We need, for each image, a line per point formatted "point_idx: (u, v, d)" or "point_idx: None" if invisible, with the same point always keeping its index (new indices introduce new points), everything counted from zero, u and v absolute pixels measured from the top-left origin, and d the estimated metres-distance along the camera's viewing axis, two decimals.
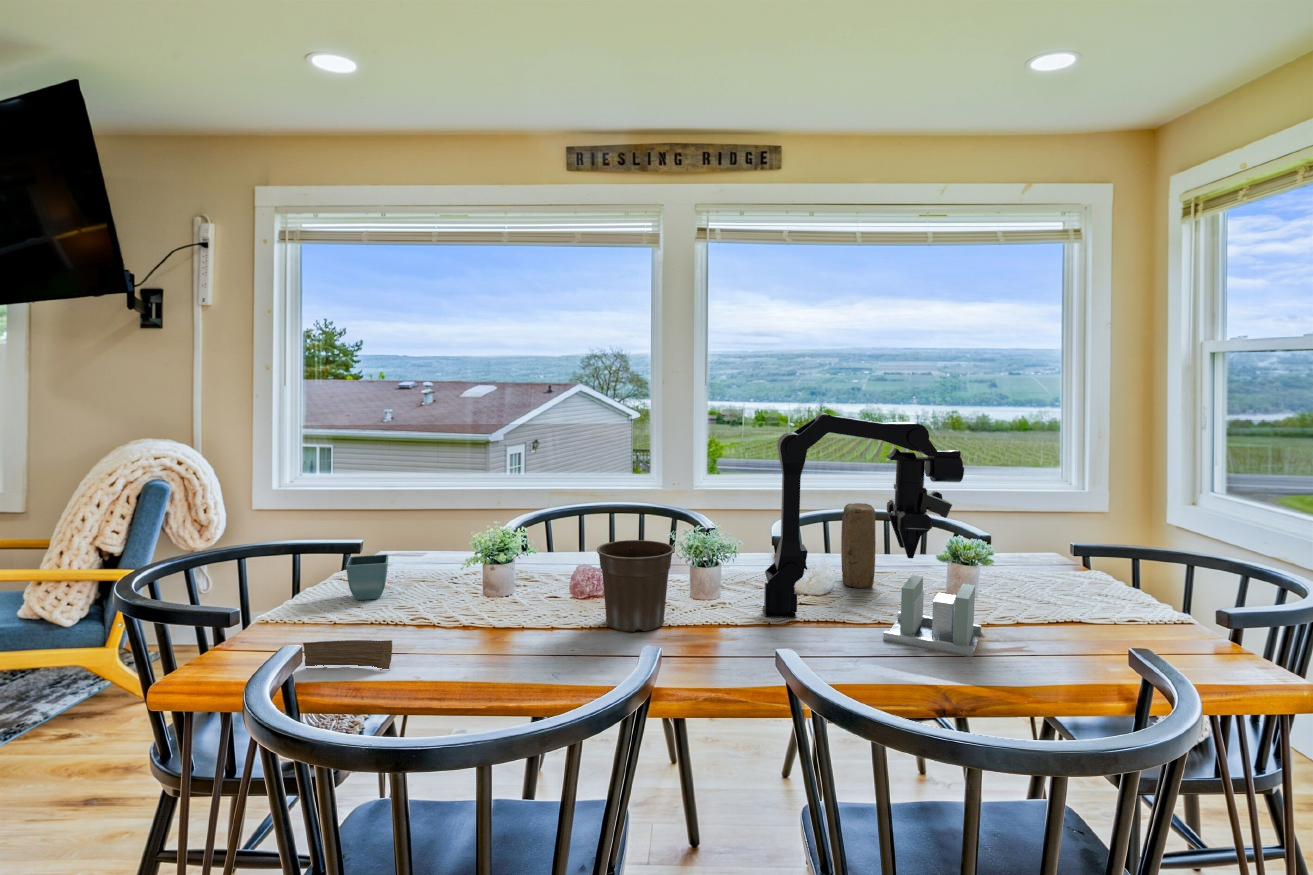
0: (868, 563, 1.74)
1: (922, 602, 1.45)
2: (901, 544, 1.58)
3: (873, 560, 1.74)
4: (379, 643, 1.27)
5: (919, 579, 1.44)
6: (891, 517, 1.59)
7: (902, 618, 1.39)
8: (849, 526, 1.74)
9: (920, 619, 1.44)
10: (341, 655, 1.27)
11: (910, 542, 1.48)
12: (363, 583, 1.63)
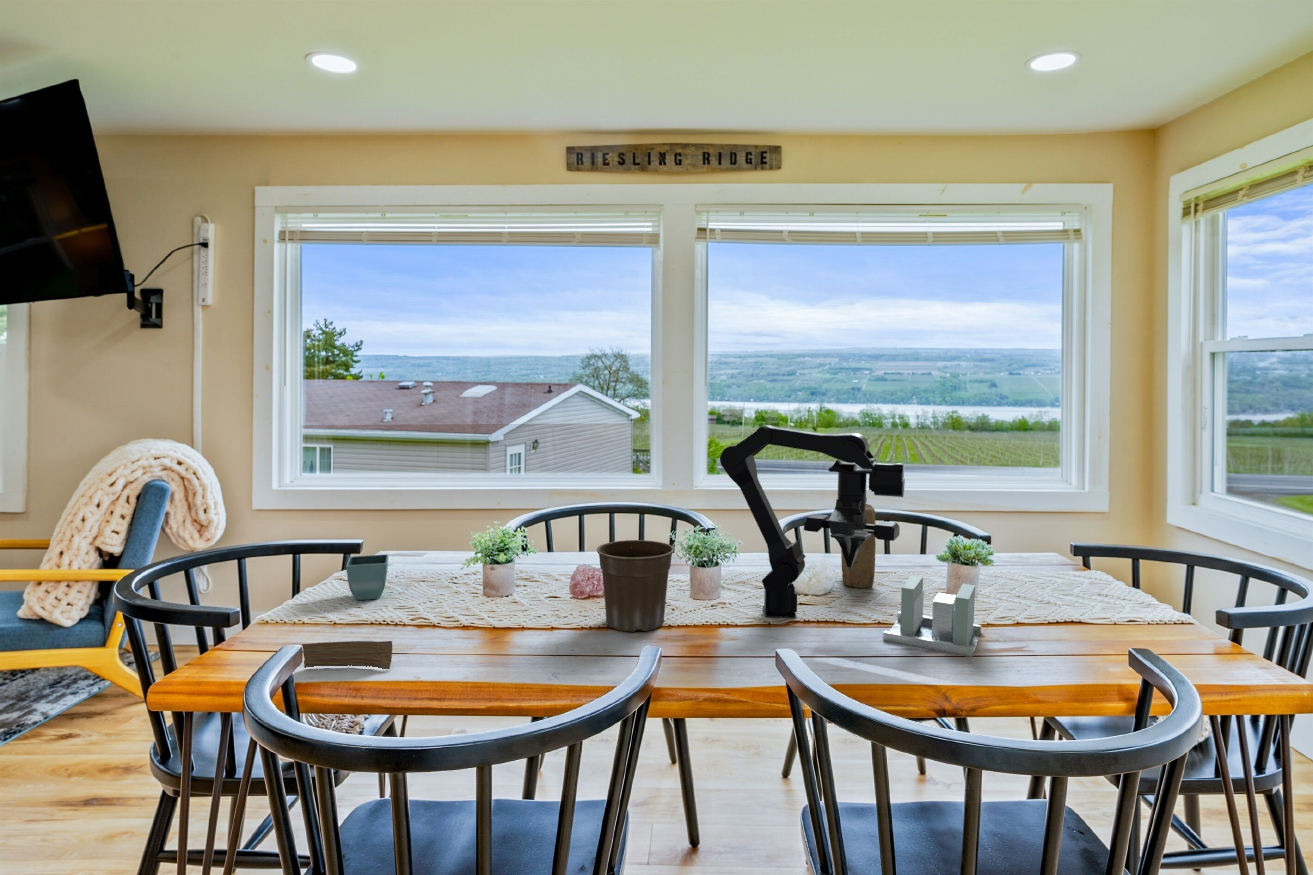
0: (868, 563, 1.74)
1: (922, 602, 1.45)
2: None
3: (873, 560, 1.74)
4: (379, 644, 1.27)
5: (919, 579, 1.44)
6: None
7: (902, 618, 1.39)
8: None
9: (920, 619, 1.44)
10: (340, 656, 1.27)
11: None
12: (363, 583, 1.63)
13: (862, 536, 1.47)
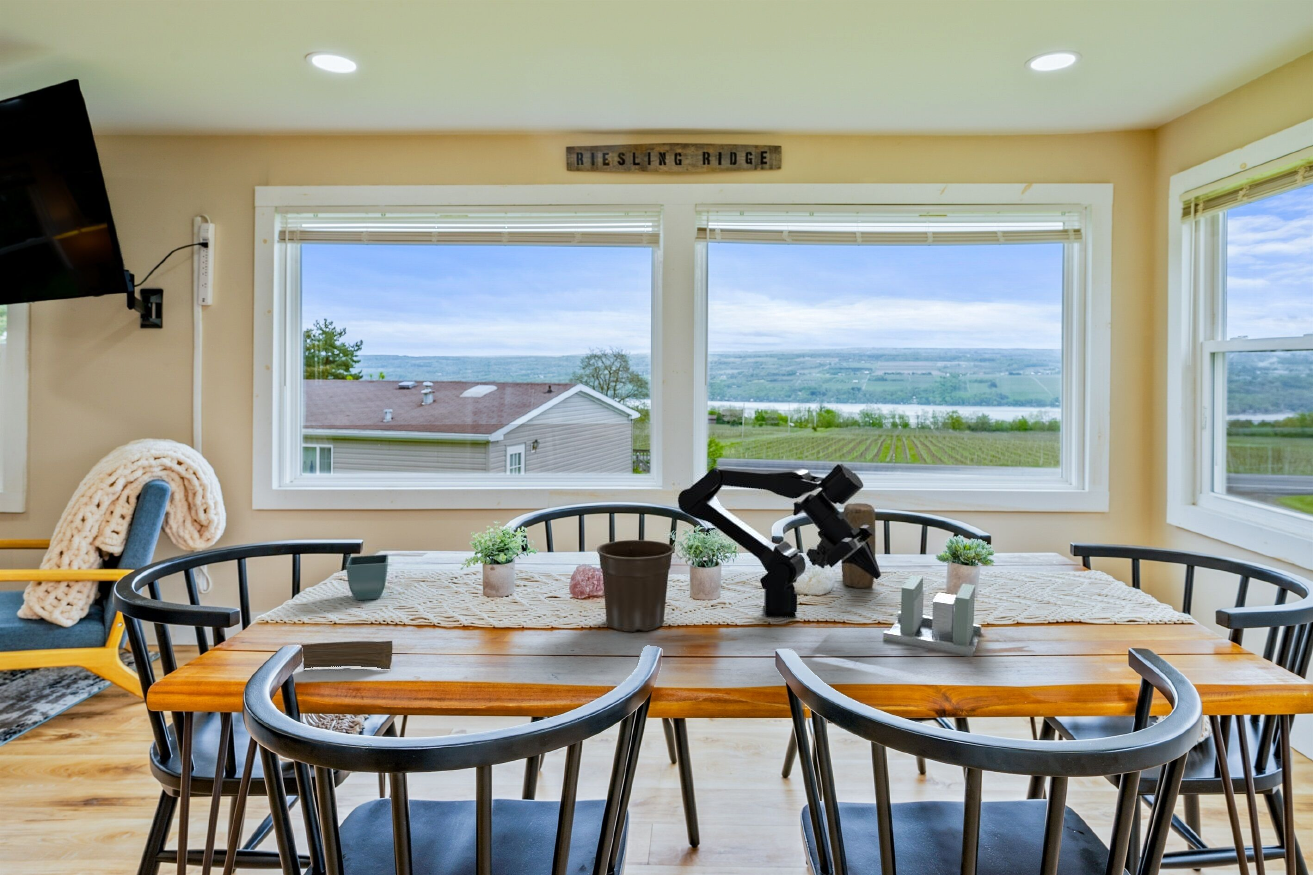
0: None
1: (922, 602, 1.45)
2: None
3: None
4: (379, 644, 1.27)
5: (919, 579, 1.44)
6: None
7: (902, 618, 1.39)
8: None
9: (920, 619, 1.44)
10: (340, 656, 1.27)
11: None
12: (363, 583, 1.63)
13: None
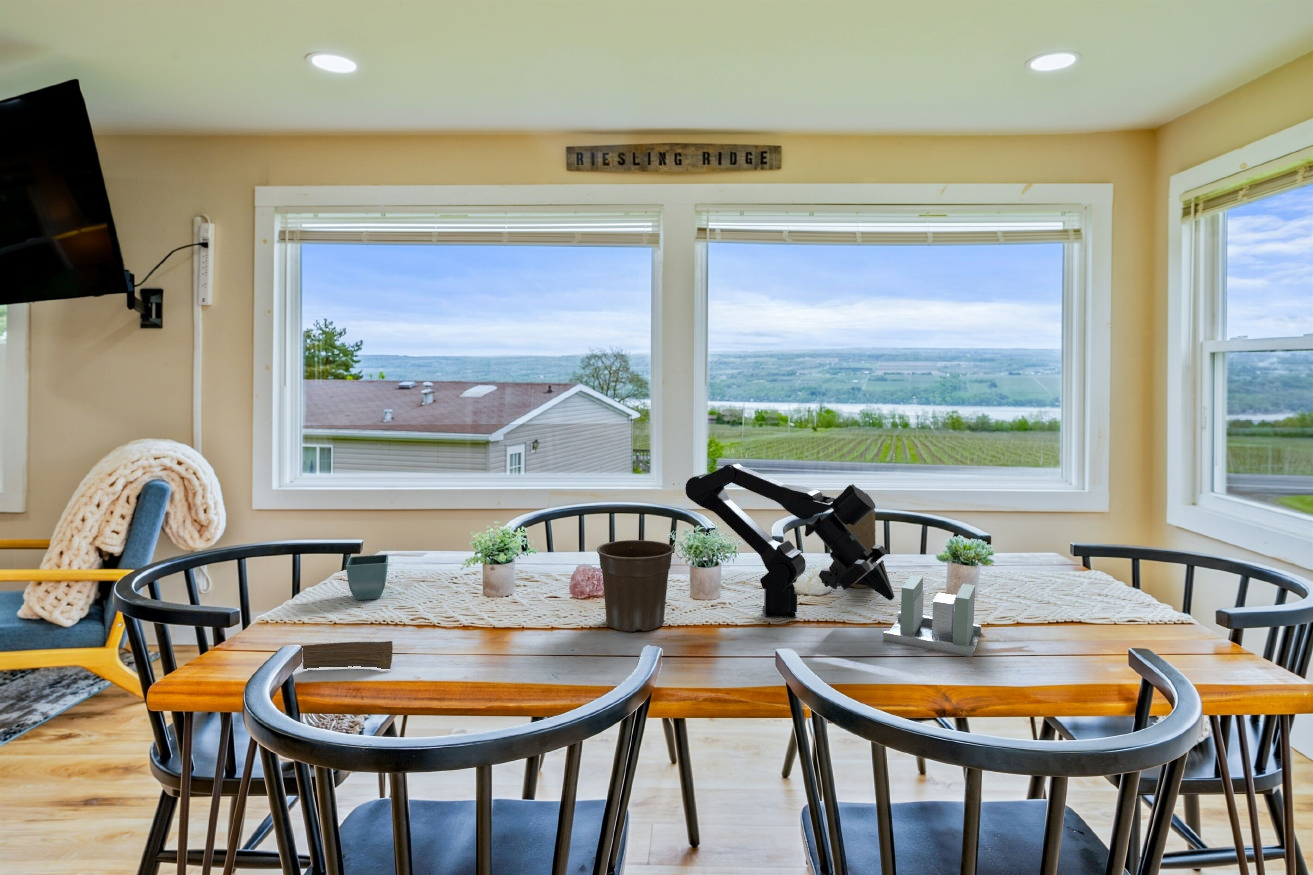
0: None
1: (922, 602, 1.45)
2: None
3: None
4: (379, 644, 1.27)
5: (919, 579, 1.44)
6: None
7: (902, 618, 1.39)
8: (849, 526, 1.74)
9: (920, 619, 1.44)
10: (340, 657, 1.27)
11: None
12: (363, 583, 1.63)
13: None
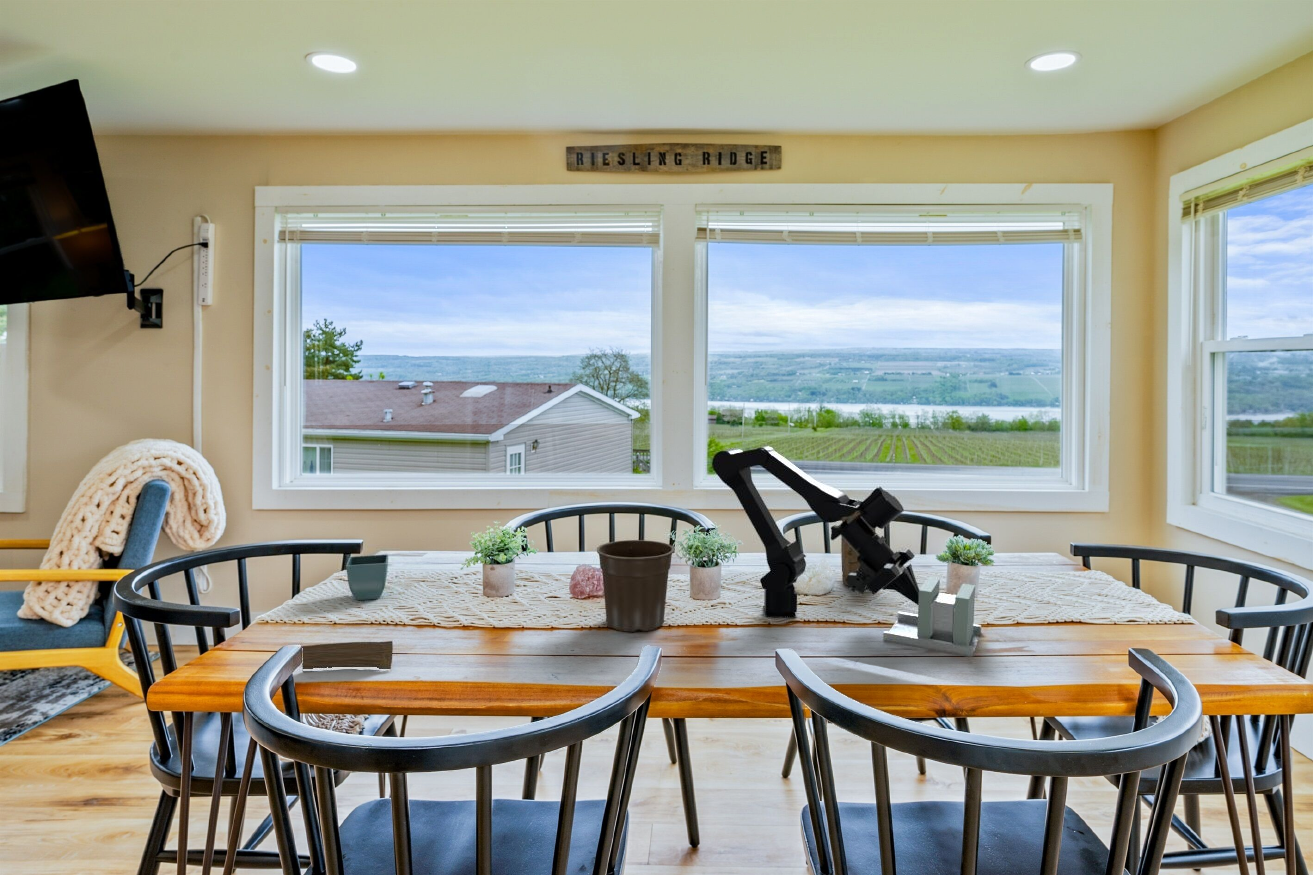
0: None
1: None
2: None
3: None
4: (379, 644, 1.27)
5: (936, 581, 1.42)
6: None
7: (919, 621, 1.37)
8: None
9: None
10: (340, 657, 1.26)
11: None
12: (363, 583, 1.63)
13: None
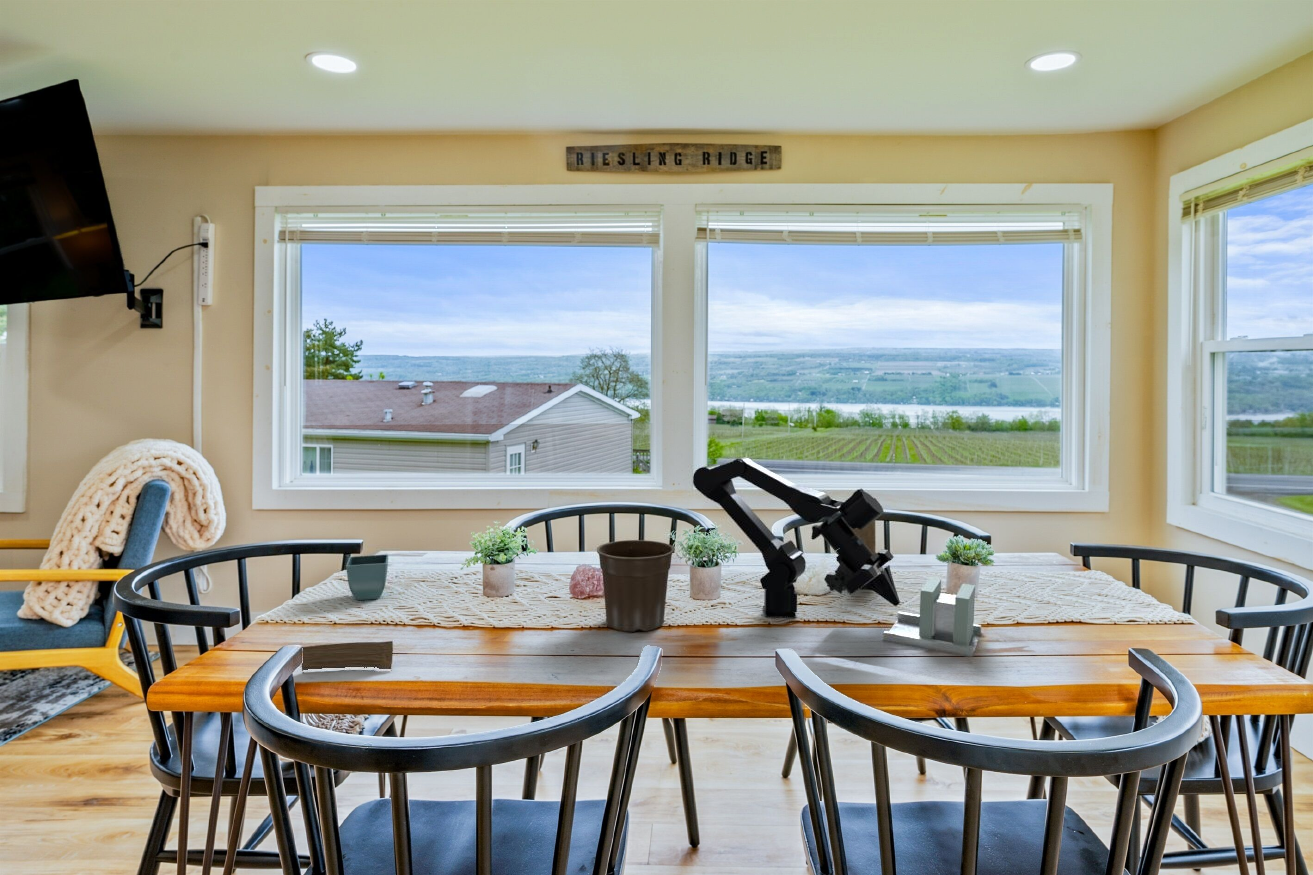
0: None
1: None
2: None
3: None
4: (379, 644, 1.27)
5: (937, 582, 1.42)
6: None
7: (921, 621, 1.37)
8: None
9: None
10: (339, 658, 1.26)
11: None
12: (363, 583, 1.63)
13: None
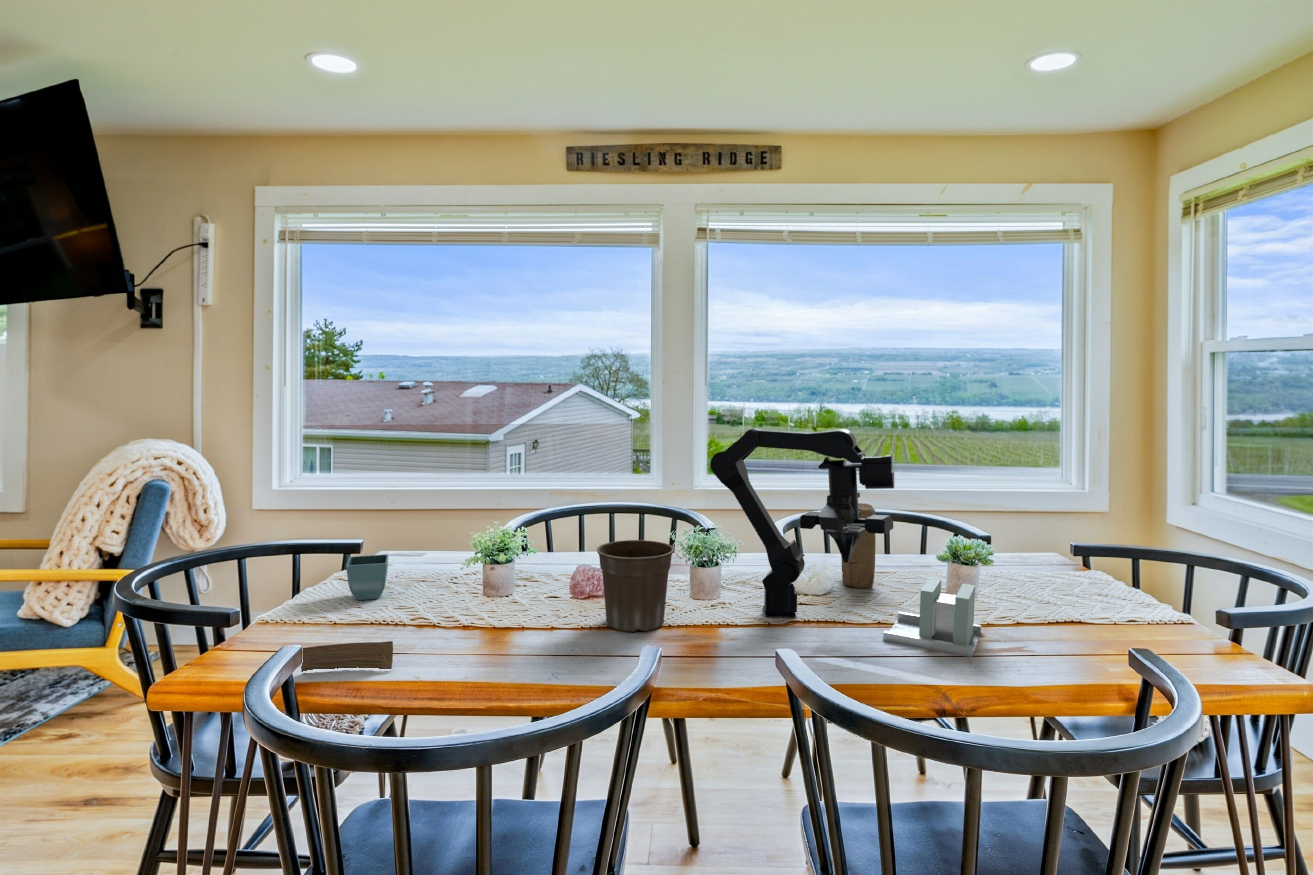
0: (868, 563, 1.74)
1: None
2: None
3: (873, 560, 1.74)
4: (380, 644, 1.27)
5: (937, 582, 1.42)
6: None
7: (921, 621, 1.37)
8: None
9: None
10: (339, 658, 1.26)
11: None
12: (363, 583, 1.63)
13: (855, 531, 1.47)
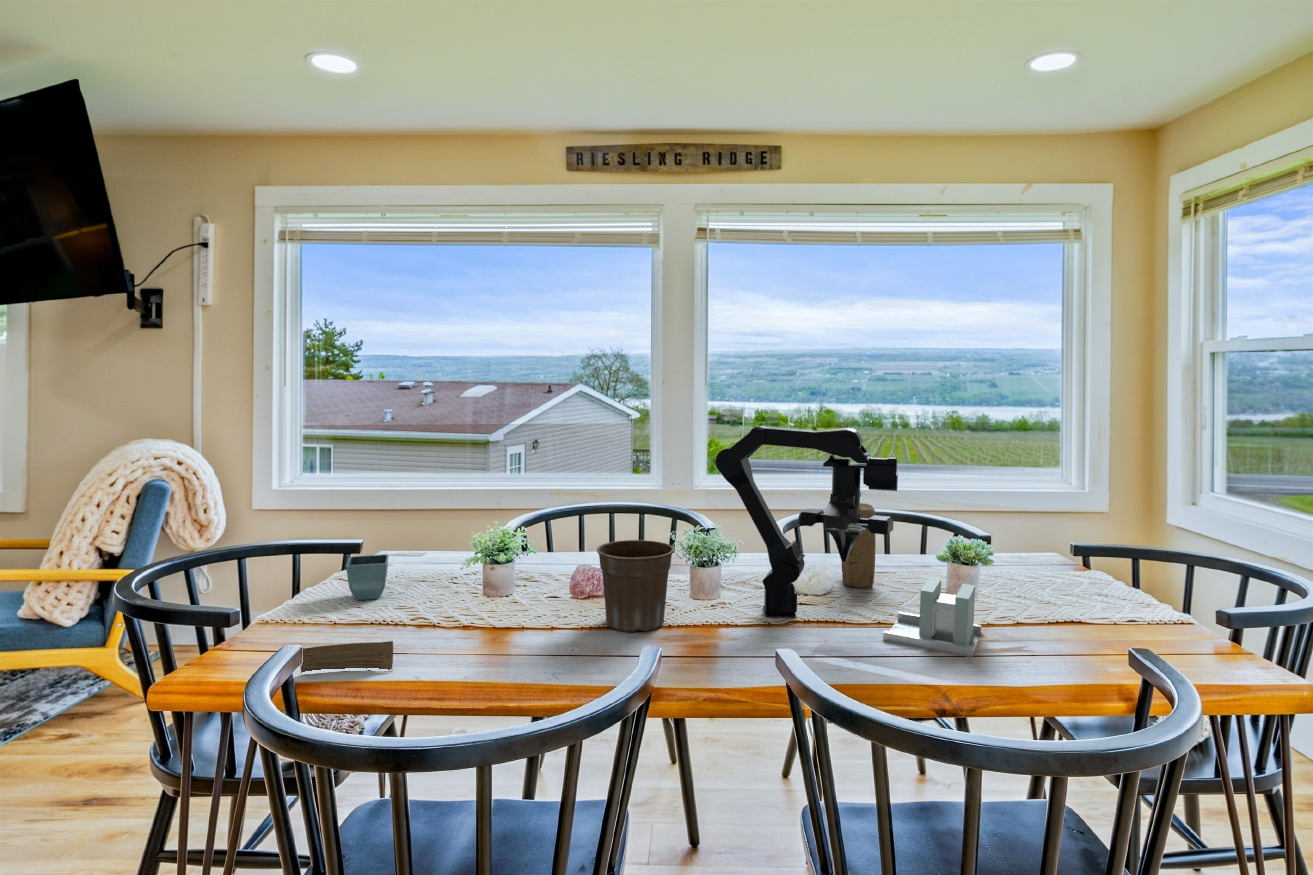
0: (868, 563, 1.74)
1: None
2: None
3: (873, 560, 1.74)
4: (380, 645, 1.27)
5: (937, 582, 1.42)
6: None
7: (921, 621, 1.37)
8: None
9: None
10: (339, 659, 1.26)
11: None
12: (363, 583, 1.63)
13: (856, 530, 1.48)
